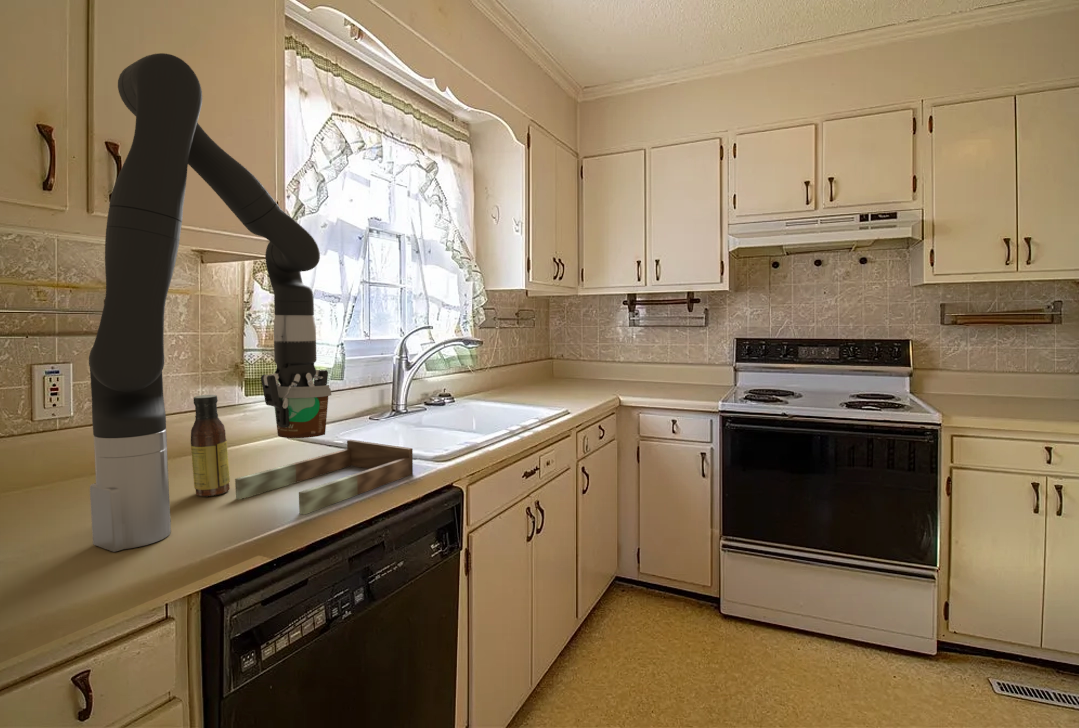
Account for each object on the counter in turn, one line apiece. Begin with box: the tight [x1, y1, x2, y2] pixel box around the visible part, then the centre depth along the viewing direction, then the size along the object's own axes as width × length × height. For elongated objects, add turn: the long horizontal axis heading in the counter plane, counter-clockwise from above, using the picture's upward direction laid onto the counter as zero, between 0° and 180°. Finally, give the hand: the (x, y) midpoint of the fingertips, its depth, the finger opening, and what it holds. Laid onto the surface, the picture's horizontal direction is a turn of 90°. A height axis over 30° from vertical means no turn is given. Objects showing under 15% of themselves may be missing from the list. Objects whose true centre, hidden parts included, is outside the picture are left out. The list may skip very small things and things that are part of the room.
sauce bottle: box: [190, 394, 231, 498], centre depth 110 cm, size 6×6×20 cm
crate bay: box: [234, 439, 414, 515], centre depth 117 cm, size 30×19×6 cm, turn 153°
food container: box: [274, 382, 332, 439], centre depth 108 cm, size 12×6×10 cm, turn 79°
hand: (297, 424), depth 109 cm, fingers closed on food container, 5 cm apart
